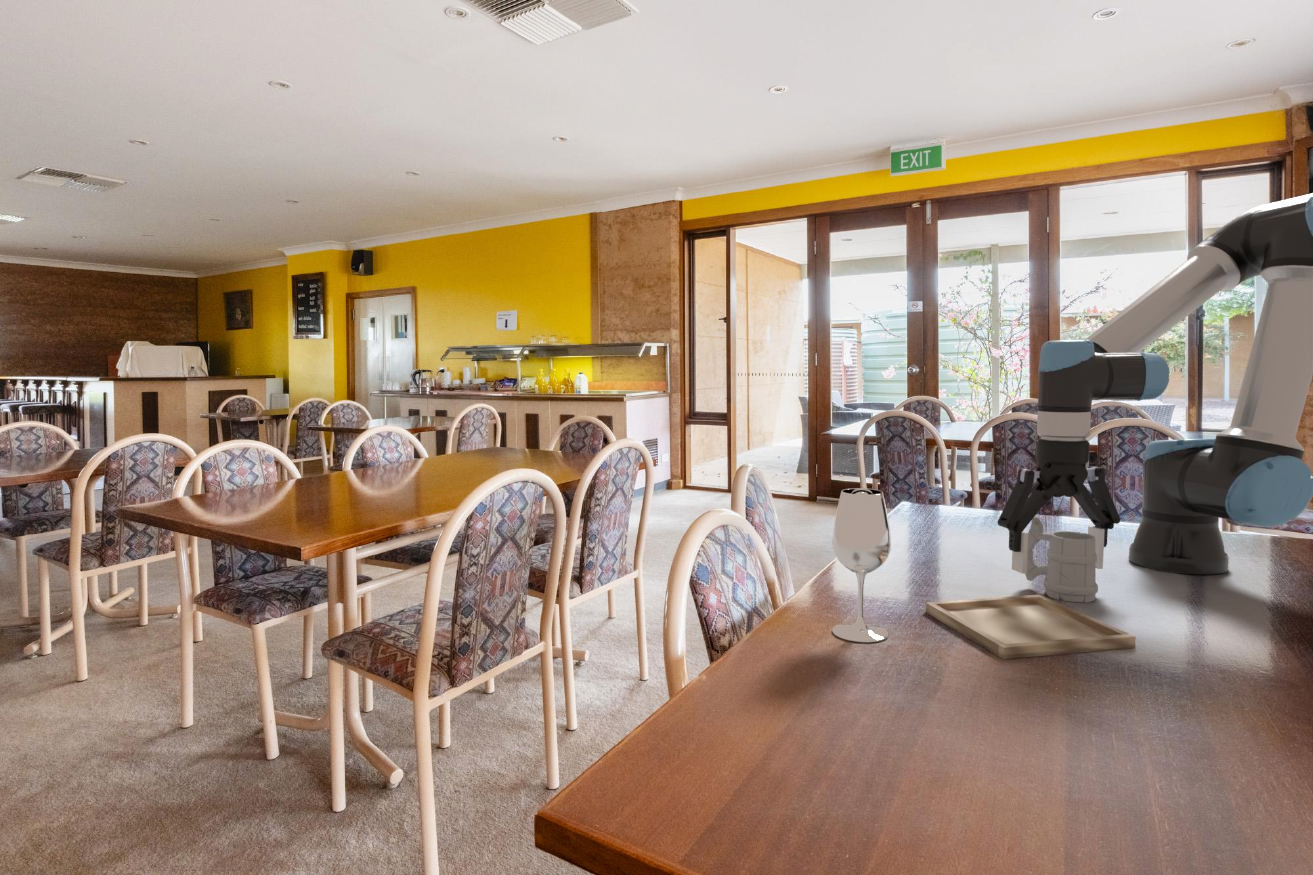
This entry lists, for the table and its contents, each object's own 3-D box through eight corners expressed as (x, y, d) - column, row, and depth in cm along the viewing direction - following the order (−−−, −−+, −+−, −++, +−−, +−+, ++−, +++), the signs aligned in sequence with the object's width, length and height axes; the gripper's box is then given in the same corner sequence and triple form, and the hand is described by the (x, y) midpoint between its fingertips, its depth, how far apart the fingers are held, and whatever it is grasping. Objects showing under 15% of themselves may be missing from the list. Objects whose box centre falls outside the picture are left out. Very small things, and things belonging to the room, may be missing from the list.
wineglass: (890, 627, 110) (893, 488, 108) (888, 646, 103) (890, 497, 101) (834, 621, 113) (836, 485, 111) (828, 639, 106) (829, 494, 104)
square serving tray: (1039, 603, 120) (1039, 594, 120) (1135, 647, 101) (1135, 636, 101) (925, 612, 117) (925, 602, 116) (1003, 659, 98) (1003, 647, 98)
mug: (1086, 606, 119) (1089, 529, 117) (1009, 589, 128) (1011, 518, 126) (1105, 596, 123) (1109, 522, 122) (1030, 581, 132) (1033, 511, 131)
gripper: (1114, 434, 129) (1108, 559, 131) (977, 437, 125) (973, 567, 127) (1150, 438, 122) (1143, 570, 124) (1006, 442, 117) (1001, 579, 119)
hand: (1057, 569), depth 125 cm, fingers open, 13 cm apart
